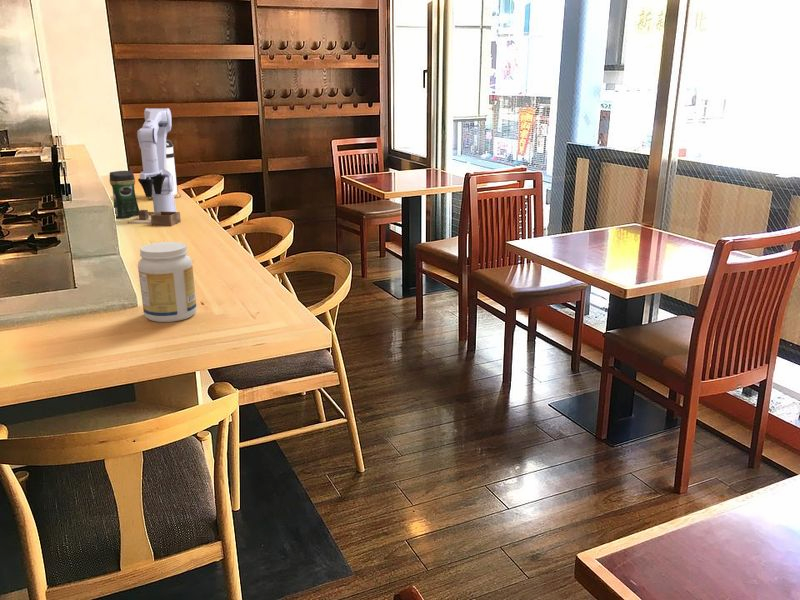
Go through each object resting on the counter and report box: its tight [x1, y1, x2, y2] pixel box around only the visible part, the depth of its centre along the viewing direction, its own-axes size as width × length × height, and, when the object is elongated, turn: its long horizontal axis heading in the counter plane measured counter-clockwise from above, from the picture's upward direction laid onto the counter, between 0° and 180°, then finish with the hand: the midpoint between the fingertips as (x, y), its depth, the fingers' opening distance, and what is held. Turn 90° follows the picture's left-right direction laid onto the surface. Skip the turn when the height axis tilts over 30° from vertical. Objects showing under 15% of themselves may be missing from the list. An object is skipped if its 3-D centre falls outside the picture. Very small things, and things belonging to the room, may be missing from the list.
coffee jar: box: [109, 170, 140, 219], centre depth 275 cm, size 10×8×19 cm
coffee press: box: [147, 138, 182, 201], centre depth 315 cm, size 17×16×30 cm
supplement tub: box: [137, 241, 198, 323], centre depth 160 cm, size 12×12×17 cm
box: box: [150, 211, 182, 227], centre depth 261 cm, size 8×8×4 cm
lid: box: [127, 209, 152, 225], centre depth 265 cm, size 9×9×5 cm
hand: (153, 195), depth 265 cm, fingers open, 7 cm apart
